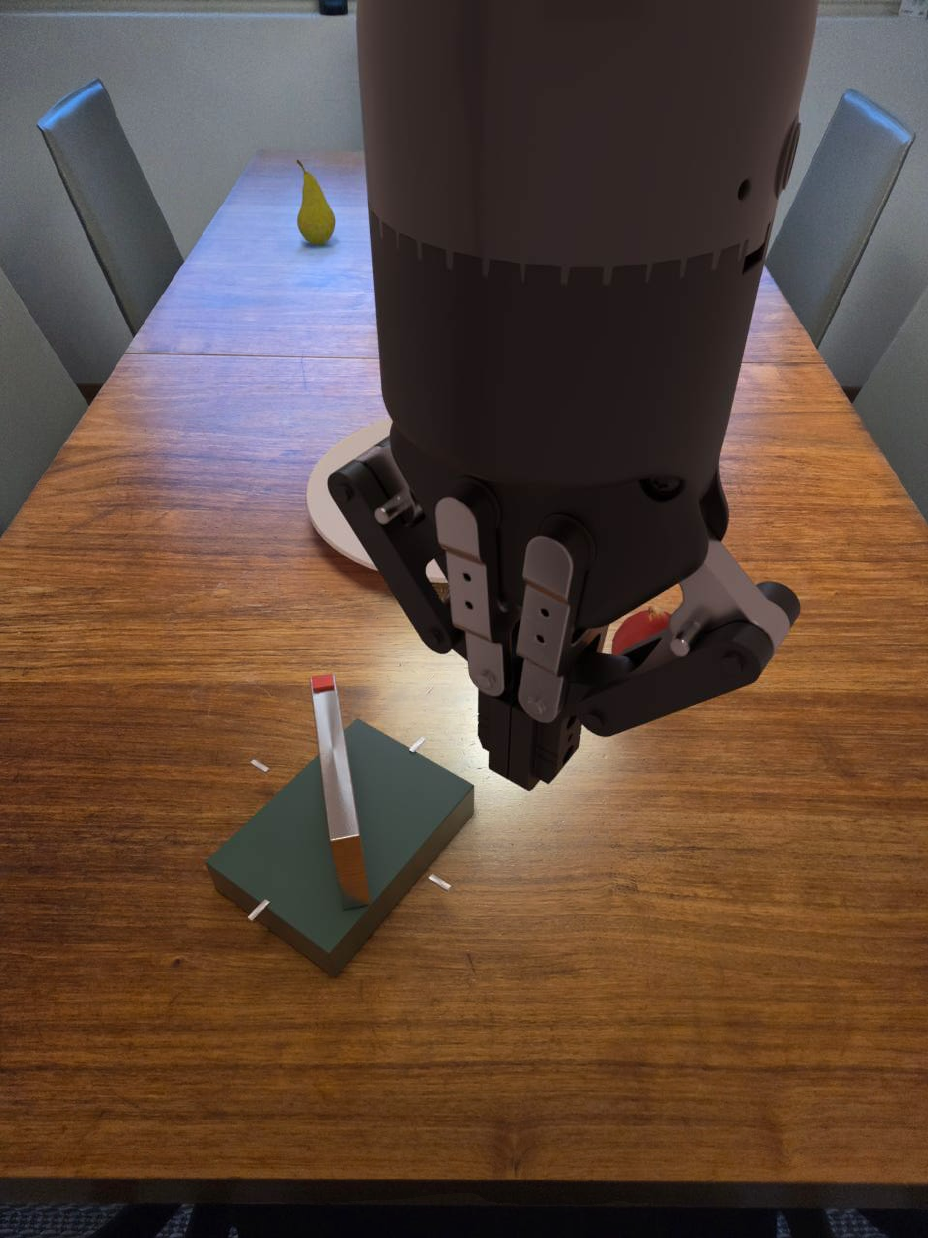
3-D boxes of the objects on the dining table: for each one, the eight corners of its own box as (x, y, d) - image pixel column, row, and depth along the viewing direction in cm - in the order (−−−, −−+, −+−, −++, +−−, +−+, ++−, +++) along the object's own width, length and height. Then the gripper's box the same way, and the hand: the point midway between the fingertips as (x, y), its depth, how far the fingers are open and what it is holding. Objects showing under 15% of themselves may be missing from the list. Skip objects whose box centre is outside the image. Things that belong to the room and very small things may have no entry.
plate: (247, 530, 82) (230, 451, 76) (434, 410, 98) (431, 337, 92) (489, 658, 69) (490, 574, 63) (657, 496, 86) (670, 418, 80)
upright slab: (370, 905, 50) (360, 832, 45) (343, 910, 50) (329, 838, 45) (345, 745, 59) (334, 670, 54) (322, 749, 59) (308, 674, 54)
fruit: (340, 248, 136) (332, 164, 128) (303, 252, 135) (292, 167, 126) (334, 235, 140) (325, 153, 132) (297, 239, 139) (286, 156, 131)
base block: (363, 1027, 48) (358, 1001, 46) (167, 875, 55) (155, 847, 53) (522, 823, 58) (524, 794, 56) (338, 716, 65) (334, 687, 63)
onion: (668, 655, 69) (685, 577, 64) (694, 708, 65) (715, 630, 60) (597, 664, 69) (608, 586, 63) (619, 719, 64) (633, 640, 59)
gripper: (171, 162, 17) (292, 744, 28) (870, 335, 11) (663, 975, 23) (413, 90, 21) (432, 618, 33) (999, 186, 16) (771, 784, 27)
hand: (527, 763), depth 28 cm, fingers closed
